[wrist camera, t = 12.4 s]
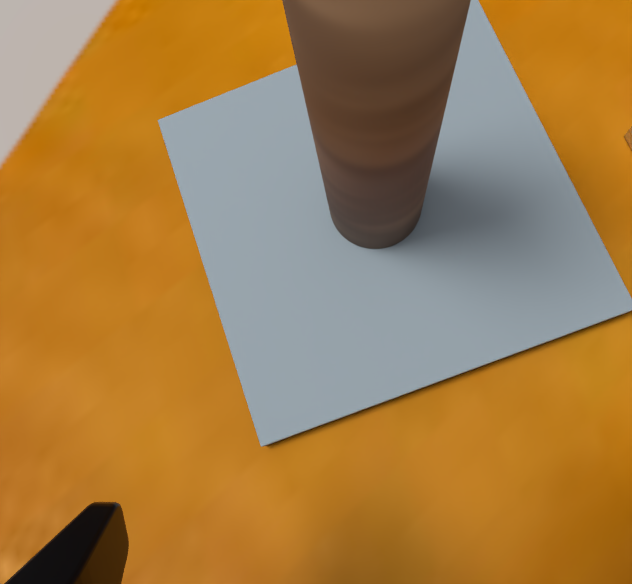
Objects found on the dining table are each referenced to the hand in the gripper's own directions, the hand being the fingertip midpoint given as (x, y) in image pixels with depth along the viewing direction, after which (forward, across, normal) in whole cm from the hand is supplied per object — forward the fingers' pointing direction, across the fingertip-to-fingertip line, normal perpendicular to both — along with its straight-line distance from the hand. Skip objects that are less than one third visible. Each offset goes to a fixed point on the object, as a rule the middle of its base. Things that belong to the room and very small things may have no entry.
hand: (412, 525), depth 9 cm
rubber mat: (+12, 0, -1) cm, 12 cm away
